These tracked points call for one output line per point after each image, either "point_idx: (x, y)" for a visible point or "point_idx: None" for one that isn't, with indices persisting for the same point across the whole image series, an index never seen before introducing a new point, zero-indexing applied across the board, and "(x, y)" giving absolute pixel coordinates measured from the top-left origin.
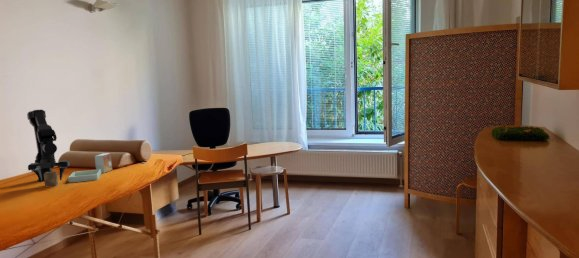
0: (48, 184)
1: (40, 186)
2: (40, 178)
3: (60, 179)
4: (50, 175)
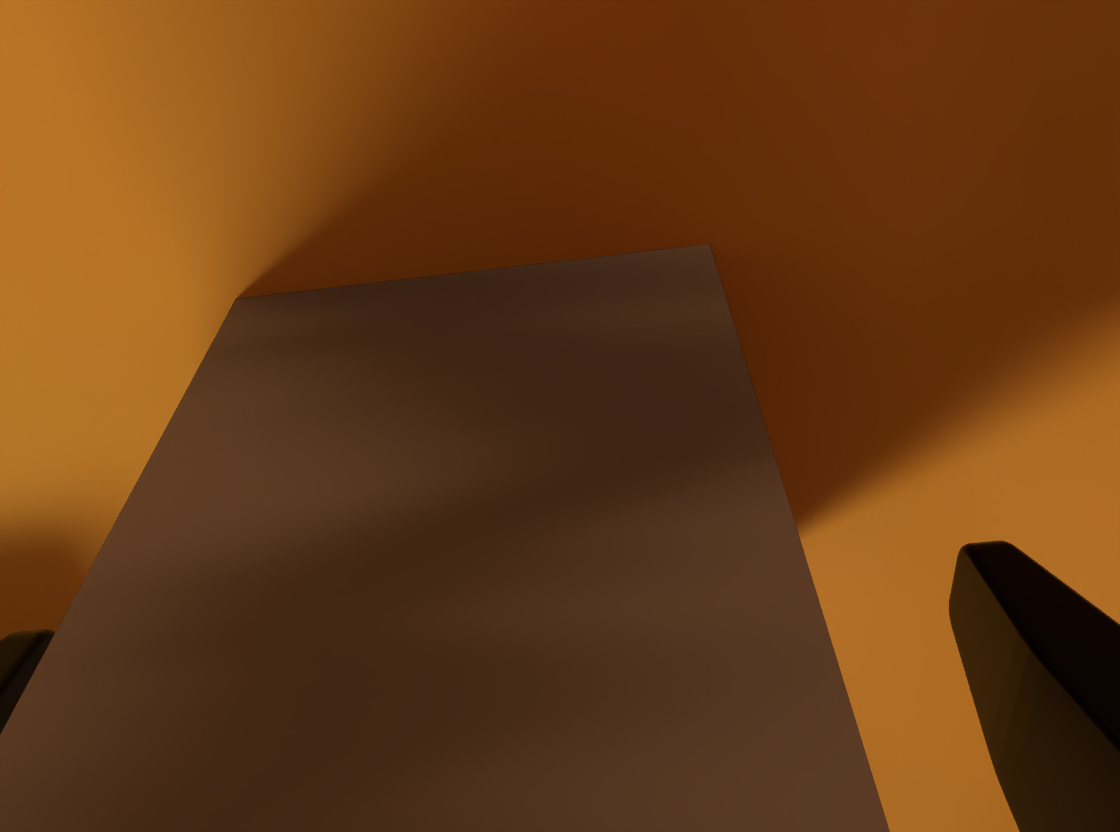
0: (547, 324)
1: (962, 436)
2: (1096, 692)
3: (4, 649)
4: (286, 804)
